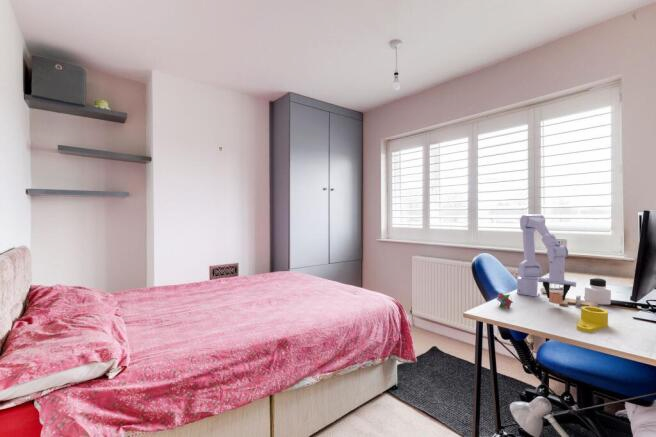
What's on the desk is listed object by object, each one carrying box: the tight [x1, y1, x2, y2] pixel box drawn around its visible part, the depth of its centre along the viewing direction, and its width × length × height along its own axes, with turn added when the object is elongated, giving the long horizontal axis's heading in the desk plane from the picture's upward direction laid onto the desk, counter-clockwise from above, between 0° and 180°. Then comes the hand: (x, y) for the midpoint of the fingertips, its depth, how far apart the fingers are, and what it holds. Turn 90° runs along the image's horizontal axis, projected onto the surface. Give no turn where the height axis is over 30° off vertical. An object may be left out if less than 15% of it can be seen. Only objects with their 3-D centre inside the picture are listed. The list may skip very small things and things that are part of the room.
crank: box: [576, 306, 609, 334], centre depth 122 cm, size 18×8×6 cm, turn 125°
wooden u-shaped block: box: [558, 297, 599, 308], centre depth 148 cm, size 14×12×1 cm
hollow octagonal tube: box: [548, 291, 563, 305], centre depth 145 cm, size 5×5×4 cm
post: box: [573, 295, 582, 309], centre depth 145 cm, size 3×3×6 cm
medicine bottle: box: [584, 277, 612, 305], centre depth 152 cm, size 7×7×12 cm
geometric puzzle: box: [496, 292, 514, 309], centre depth 146 cm, size 7×7×8 cm
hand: (555, 299), depth 145 cm, fingers closed on hollow octagonal tube, 5 cm apart
